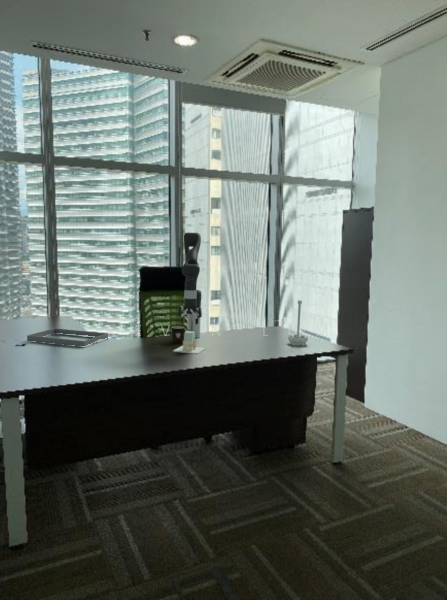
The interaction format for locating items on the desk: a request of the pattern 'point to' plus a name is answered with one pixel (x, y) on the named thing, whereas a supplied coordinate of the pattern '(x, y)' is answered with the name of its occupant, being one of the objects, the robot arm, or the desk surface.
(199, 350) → the desk pad
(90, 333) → the document tray
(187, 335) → the sage block
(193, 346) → the maple block
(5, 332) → the desk surface
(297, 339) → the flag stand
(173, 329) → the coffee mug
